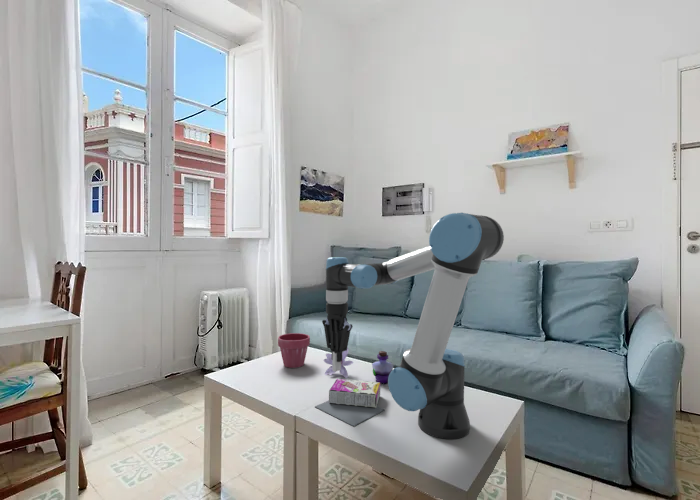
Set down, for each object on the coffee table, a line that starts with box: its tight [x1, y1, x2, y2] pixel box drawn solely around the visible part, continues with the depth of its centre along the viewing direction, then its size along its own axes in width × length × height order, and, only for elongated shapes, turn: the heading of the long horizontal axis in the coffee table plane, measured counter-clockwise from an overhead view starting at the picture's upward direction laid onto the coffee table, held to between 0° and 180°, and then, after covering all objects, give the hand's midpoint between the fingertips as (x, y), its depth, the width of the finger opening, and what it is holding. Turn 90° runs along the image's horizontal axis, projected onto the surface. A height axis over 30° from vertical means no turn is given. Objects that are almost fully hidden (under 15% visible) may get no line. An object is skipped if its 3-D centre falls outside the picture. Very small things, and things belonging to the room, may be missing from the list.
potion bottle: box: [371, 350, 394, 385], centre depth 142 cm, size 9×9×12 cm
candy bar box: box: [328, 378, 381, 408], centre depth 125 cm, size 11×5×16 cm
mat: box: [314, 400, 386, 427], centre depth 119 cm, size 18×15×1 cm
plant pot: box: [277, 332, 311, 369], centre depth 162 cm, size 14×14×13 cm
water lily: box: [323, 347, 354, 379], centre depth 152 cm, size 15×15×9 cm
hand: (336, 370), depth 123 cm, fingers closed
